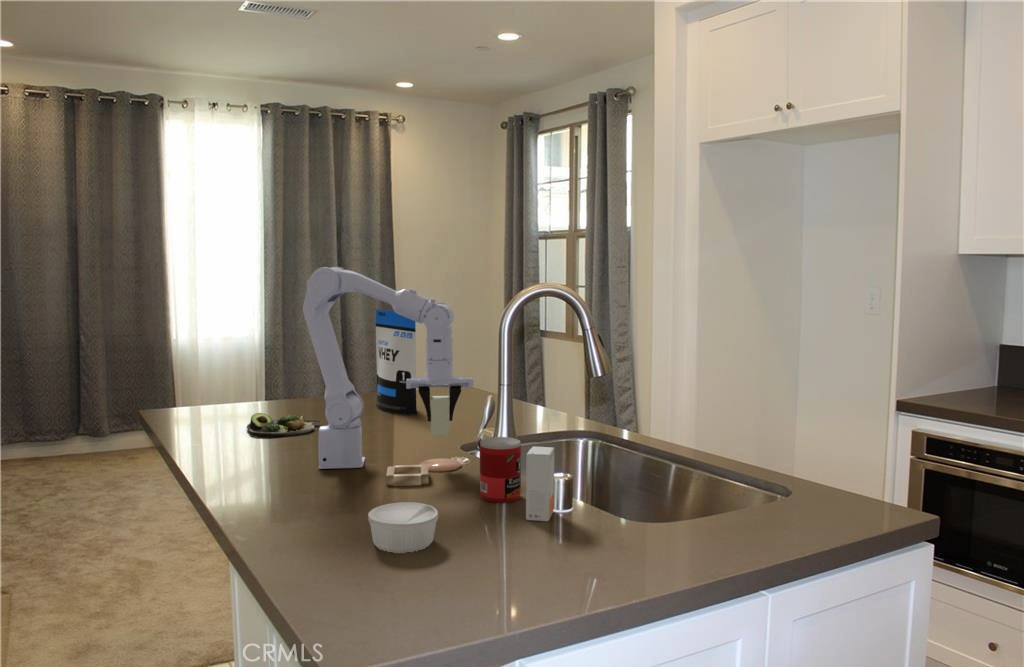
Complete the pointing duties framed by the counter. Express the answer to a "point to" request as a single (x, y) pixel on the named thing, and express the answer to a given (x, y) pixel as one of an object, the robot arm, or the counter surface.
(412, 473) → the oak holder
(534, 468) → the skincare box
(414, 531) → the ramekin
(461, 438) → the counter surface
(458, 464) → the terracotta coaster
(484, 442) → the canned food
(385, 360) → the protein powder
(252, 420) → the salad plate
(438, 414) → the sage peg
